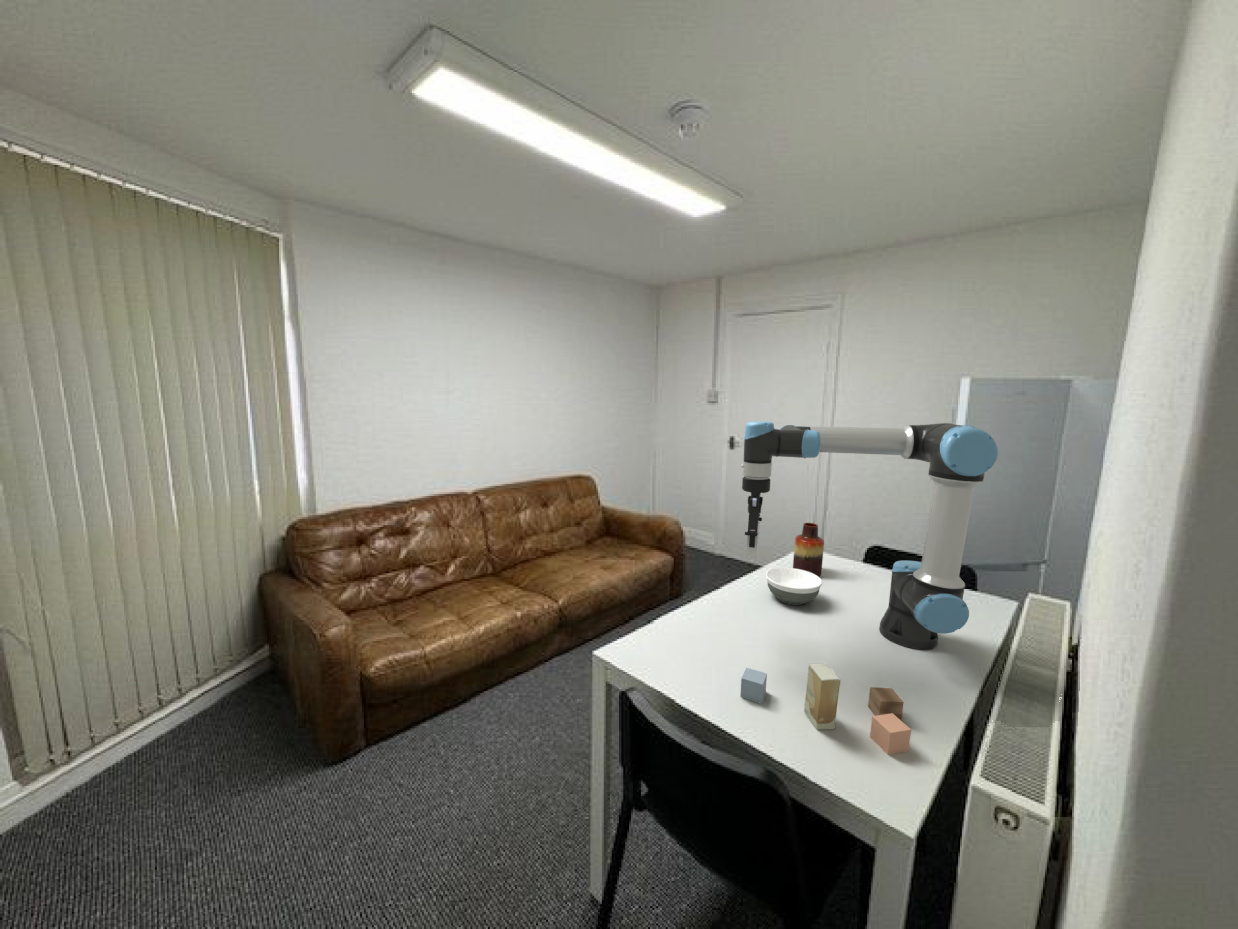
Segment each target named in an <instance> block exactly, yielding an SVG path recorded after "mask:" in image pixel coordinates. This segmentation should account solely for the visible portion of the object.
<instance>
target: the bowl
mask: <svg viewBox="0 0 1238 929" xmlns="http://www.w3.org/2000/svg"><path fill="white" fill-rule="evenodd" d="M765 577H766V581H767V587H768V589H769V591H770V593H771V594H773V595H774V596H775V597H776V598H778V599H779V600H780V601H781V602H783V603H785V604H787V605H793V606H799V605H803V604H805V603H808V602H810V601H813V600H814V599H815V598H817V596H818V595H819V593H820V589H821V587H822V585H823V580H822V579H821V577H818V576H817V575H815V574H813V573H810V572H808V571H804V570H800V569H795V568H793V567H775V568H770V569H769V570H768V571H766V573H765Z"/></svg>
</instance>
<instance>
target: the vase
mask: <svg viewBox="0 0 1238 929" xmlns="http://www.w3.org/2000/svg"><path fill="white" fill-rule="evenodd" d="M824 546H825V540H824V539H823V538H822V537H821V536H819V525H818V524H817V523H814V522H804V523H803V524H802V530H801V534H797V535H796V536H795V538H794V548H793V550H794V551H793V559H792V568H795V569H800V570H804V571H808V572H810V573H813V574H815V575H817V576H818V577H819V578H821V576H822V572H823V571H822V569H823V560H824V559H823V558H824V549H825V548H824Z"/></svg>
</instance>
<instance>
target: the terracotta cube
mask: <svg viewBox="0 0 1238 929" xmlns="http://www.w3.org/2000/svg"><path fill="white" fill-rule="evenodd" d="M911 733H912V728H910V727H909V726H907V724H905V723H904V722H903V721H902V720H900V719H898V718H897V717H896V716H895V715H894V714H893V713H891V714H884V715H877V716H874V715H872V716H871V725H870V733H869V738H870V739H871V740H872V741H873V742H874V743H875V744H876V745H877V746H878V747H879V748H880V749H881V750H882V751H883V752H884V753H885V754H886V755H892V754H898V753H904V752H905V753H906V752H909V749H910V742H911Z"/></svg>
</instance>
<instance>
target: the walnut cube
mask: <svg viewBox="0 0 1238 929" xmlns="http://www.w3.org/2000/svg"><path fill="white" fill-rule="evenodd" d="M867 707H868V708H869V710H870V711H871V713H872V714H873V716H877V715H884V714H891V713H893V714H894V715H895V716H896V717H897V718H898V719H900V720H901V721H902V718H903V710H904V701H903V700H902V698H901V697H900V695H899V694H897V692H896V691H895V690H894V688H892V687H879V686H878V687H877V686H876V687H875V686H874V687H873V686H869V692H868V703H867Z"/></svg>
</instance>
